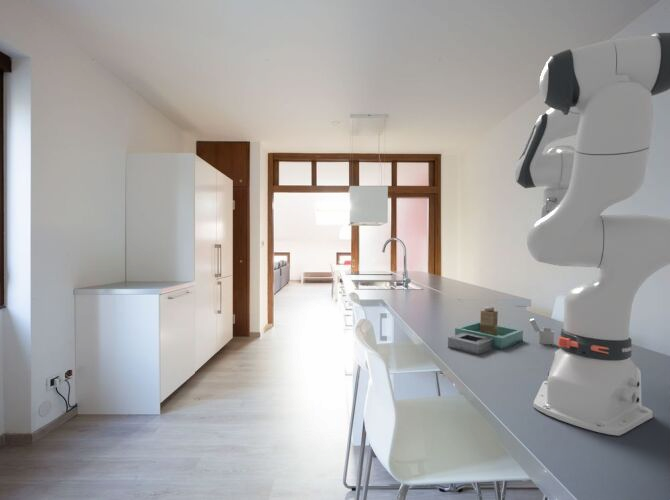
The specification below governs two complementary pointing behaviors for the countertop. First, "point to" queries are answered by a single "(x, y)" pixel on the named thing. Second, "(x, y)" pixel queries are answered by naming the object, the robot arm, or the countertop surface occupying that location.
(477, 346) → the grey square box
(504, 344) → the tray
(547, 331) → the lighter
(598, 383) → the robot arm
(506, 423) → the countertop surface
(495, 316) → the brown wooden tall block
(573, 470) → the countertop surface
